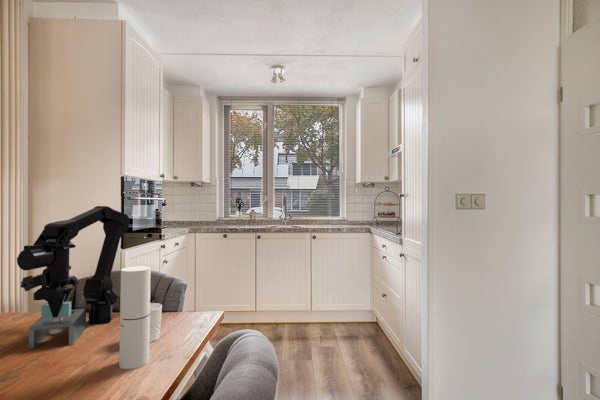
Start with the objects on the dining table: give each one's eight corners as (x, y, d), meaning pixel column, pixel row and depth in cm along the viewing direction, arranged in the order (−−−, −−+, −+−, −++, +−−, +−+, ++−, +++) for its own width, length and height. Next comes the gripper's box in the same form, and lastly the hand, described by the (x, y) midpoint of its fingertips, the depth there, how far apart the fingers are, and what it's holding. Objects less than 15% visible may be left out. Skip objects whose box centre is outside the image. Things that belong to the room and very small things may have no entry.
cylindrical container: (137, 370, 86) (138, 272, 86) (112, 367, 87) (114, 270, 87) (154, 358, 93) (156, 266, 93) (131, 355, 94) (133, 265, 94)
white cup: (128, 340, 104) (128, 308, 104) (150, 332, 111) (150, 301, 111) (145, 346, 100) (146, 312, 100) (167, 336, 107) (167, 305, 107)
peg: (71, 327, 106) (72, 300, 106) (67, 332, 102) (68, 304, 102) (44, 330, 103) (45, 302, 104) (39, 335, 100) (40, 306, 100)
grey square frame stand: (46, 331, 110) (47, 311, 110) (85, 328, 114) (86, 308, 114) (28, 349, 97) (29, 326, 97) (73, 344, 101) (73, 322, 101)
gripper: (38, 260, 109) (37, 308, 109) (11, 271, 91) (9, 329, 91) (78, 258, 113) (77, 305, 113) (59, 269, 95) (58, 324, 95)
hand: (56, 315), depth 103 cm, fingers closed on peg, 2 cm apart
